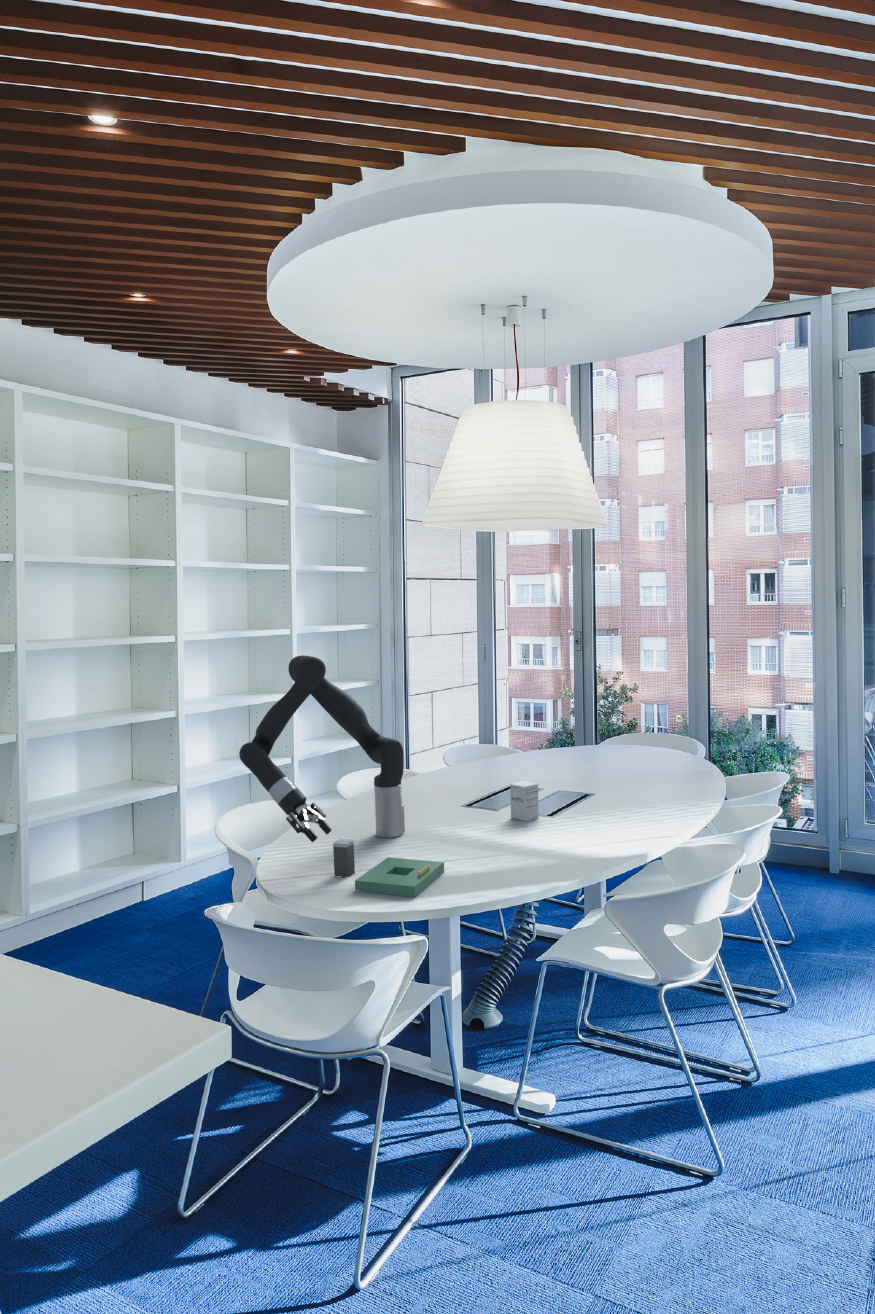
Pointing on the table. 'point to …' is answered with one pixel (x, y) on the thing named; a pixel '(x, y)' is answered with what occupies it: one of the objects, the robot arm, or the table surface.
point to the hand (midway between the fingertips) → (322, 836)
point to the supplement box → (524, 800)
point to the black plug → (343, 857)
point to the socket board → (400, 877)
